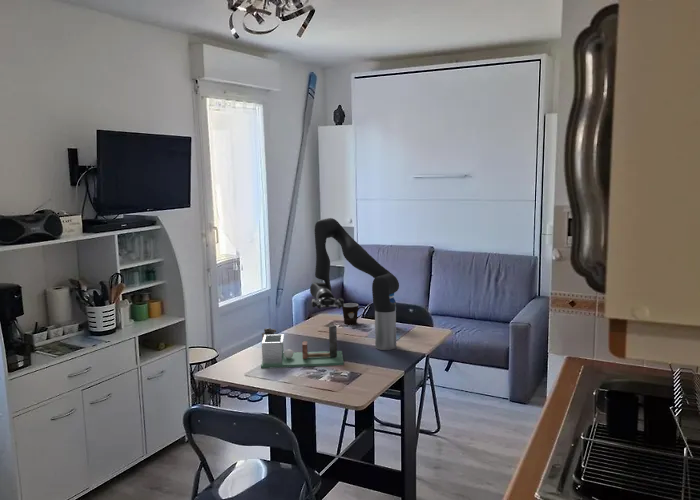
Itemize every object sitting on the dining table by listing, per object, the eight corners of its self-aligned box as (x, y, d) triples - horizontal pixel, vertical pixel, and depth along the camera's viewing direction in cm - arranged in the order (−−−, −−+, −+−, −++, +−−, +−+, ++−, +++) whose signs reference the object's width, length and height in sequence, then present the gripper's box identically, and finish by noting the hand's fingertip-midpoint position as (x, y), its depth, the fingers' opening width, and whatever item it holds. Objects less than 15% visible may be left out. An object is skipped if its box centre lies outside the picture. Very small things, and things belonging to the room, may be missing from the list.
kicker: (336, 353, 250) (336, 324, 248) (337, 357, 245) (336, 327, 243) (302, 355, 249) (302, 325, 247) (302, 358, 244) (301, 328, 242)
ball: (293, 356, 248) (293, 347, 248) (293, 359, 245) (292, 350, 244) (284, 357, 248) (283, 348, 248) (283, 360, 244) (283, 351, 244)
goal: (284, 354, 252) (284, 334, 251) (283, 363, 240) (282, 342, 239) (265, 354, 252) (264, 334, 251) (262, 364, 240) (261, 343, 239)
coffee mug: (340, 325, 301) (339, 306, 300) (345, 321, 309) (344, 302, 308) (361, 326, 298) (361, 307, 296) (366, 322, 306) (365, 303, 305)
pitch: (341, 353, 256) (341, 350, 256) (343, 365, 240) (343, 362, 240) (264, 355, 254) (264, 353, 254) (261, 368, 238) (260, 365, 238)
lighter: (260, 349, 262) (260, 328, 261) (265, 347, 265) (264, 326, 264) (275, 352, 259) (274, 330, 257) (280, 350, 261) (279, 328, 260)
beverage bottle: (396, 325, 298) (396, 287, 296) (396, 330, 290) (395, 291, 287) (379, 325, 299) (379, 287, 296) (379, 330, 291) (378, 291, 288)
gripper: (309, 290, 269) (313, 299, 253) (340, 289, 272) (345, 297, 256) (309, 306, 270) (313, 315, 255) (340, 304, 273) (345, 314, 257)
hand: (329, 306), depth 255 cm, fingers open, 8 cm apart
